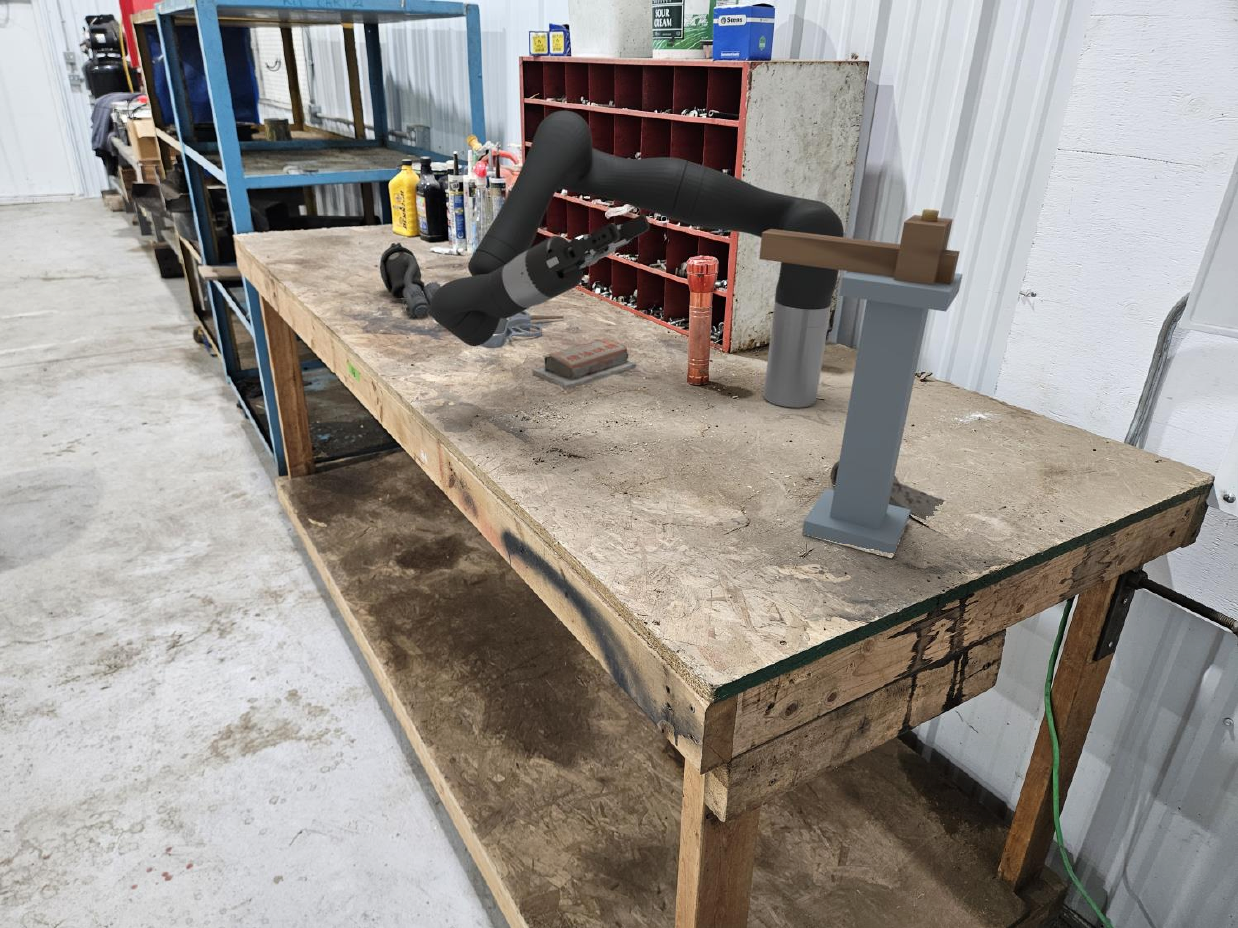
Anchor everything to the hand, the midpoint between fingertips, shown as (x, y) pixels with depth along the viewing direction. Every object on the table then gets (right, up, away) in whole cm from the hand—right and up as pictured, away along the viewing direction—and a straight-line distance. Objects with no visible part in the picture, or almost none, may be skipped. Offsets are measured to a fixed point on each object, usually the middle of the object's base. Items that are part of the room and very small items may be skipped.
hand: (632, 225), depth 105 cm
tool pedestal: (+28, -39, -3) cm, 48 cm away
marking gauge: (+24, -9, -15) cm, 30 cm away
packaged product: (-8, -14, +47) cm, 50 cm away
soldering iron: (-24, -4, +67) cm, 71 cm away
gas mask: (-50, +6, +85) cm, 99 cm away
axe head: (+37, -37, +4) cm, 53 cm away
